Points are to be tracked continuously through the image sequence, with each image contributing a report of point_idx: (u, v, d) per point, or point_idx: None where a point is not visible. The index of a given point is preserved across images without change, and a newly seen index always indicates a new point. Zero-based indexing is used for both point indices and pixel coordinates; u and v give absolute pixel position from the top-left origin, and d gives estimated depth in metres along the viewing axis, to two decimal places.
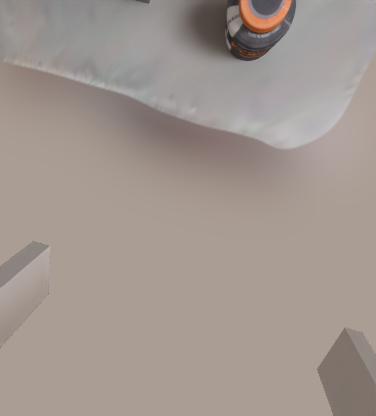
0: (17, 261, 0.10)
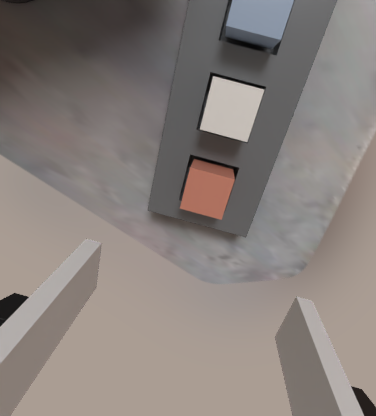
0: (78, 256, 0.11)
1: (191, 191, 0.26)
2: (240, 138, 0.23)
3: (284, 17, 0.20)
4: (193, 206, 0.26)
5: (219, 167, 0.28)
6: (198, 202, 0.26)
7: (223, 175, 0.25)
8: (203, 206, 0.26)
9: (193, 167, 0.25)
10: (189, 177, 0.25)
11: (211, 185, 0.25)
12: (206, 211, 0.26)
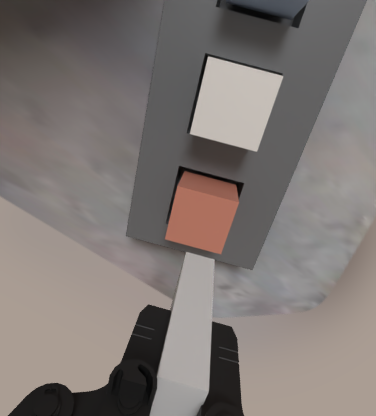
0: (189, 269, 0.12)
1: (180, 218, 0.19)
2: (247, 146, 0.17)
3: None
4: (182, 236, 0.20)
5: (218, 182, 0.21)
6: (189, 231, 0.19)
7: (223, 196, 0.18)
8: (195, 236, 0.19)
9: (182, 185, 0.18)
10: (176, 199, 0.18)
11: (207, 210, 0.19)
12: (200, 243, 0.20)
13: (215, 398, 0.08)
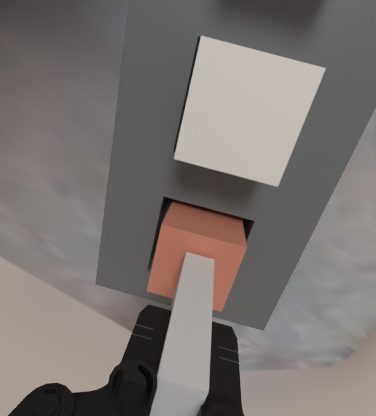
0: (189, 269, 0.12)
1: (166, 265, 0.14)
2: (263, 179, 0.11)
3: None
4: (170, 288, 0.15)
5: (217, 213, 0.16)
6: None
7: (225, 238, 0.13)
8: None
9: (168, 223, 0.13)
10: (161, 241, 0.13)
11: None
12: None
13: (215, 398, 0.08)
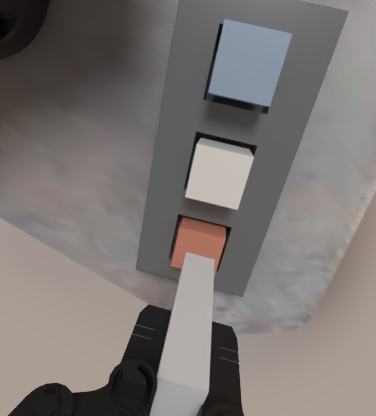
0: (189, 269, 0.12)
1: (182, 250, 0.25)
2: (230, 206, 0.21)
3: (272, 83, 0.18)
4: None
5: None
6: None
7: (214, 234, 0.24)
8: None
9: (183, 226, 0.25)
10: (179, 236, 0.25)
11: (202, 244, 0.25)
12: None
13: (215, 398, 0.08)
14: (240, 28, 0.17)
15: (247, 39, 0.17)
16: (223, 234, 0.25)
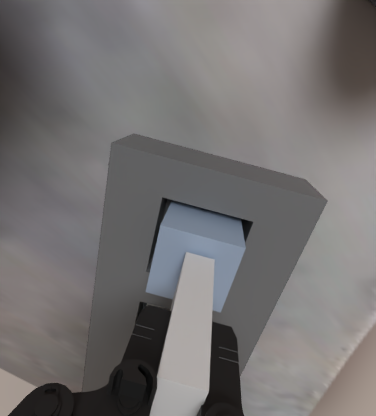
0: (189, 269, 0.12)
1: None
2: None
3: (223, 292, 0.14)
4: None
5: None
6: None
7: None
8: None
9: None
10: None
11: None
12: None
13: (215, 398, 0.08)
14: (180, 236, 0.13)
15: (190, 248, 0.13)
16: None
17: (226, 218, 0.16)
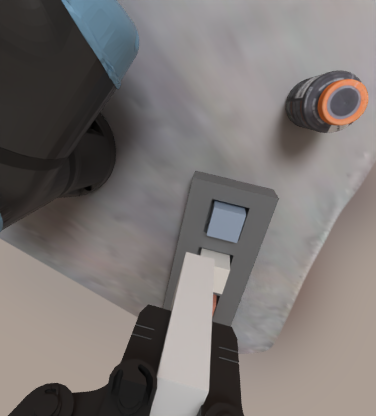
0: (189, 269, 0.12)
1: None
2: (217, 292, 0.38)
3: (237, 233, 0.36)
4: None
5: None
6: None
7: None
8: None
9: None
10: None
11: None
12: None
13: (215, 398, 0.08)
14: (221, 211, 0.35)
15: (225, 216, 0.36)
16: (214, 301, 0.42)
17: (238, 205, 0.38)
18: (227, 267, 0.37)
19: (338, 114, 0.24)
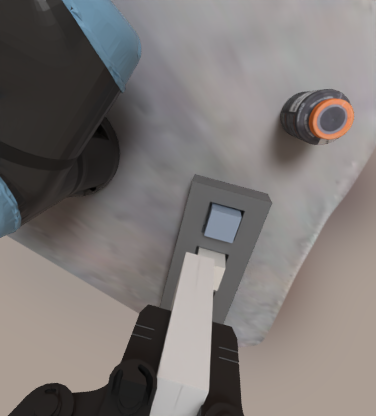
0: (189, 269, 0.12)
1: None
2: (213, 288, 0.41)
3: (233, 234, 0.39)
4: None
5: None
6: None
7: None
8: None
9: None
10: None
11: None
12: None
13: (215, 398, 0.08)
14: (218, 213, 0.38)
15: (222, 218, 0.38)
16: None
17: (234, 208, 0.40)
18: (223, 265, 0.40)
19: (327, 130, 0.27)
